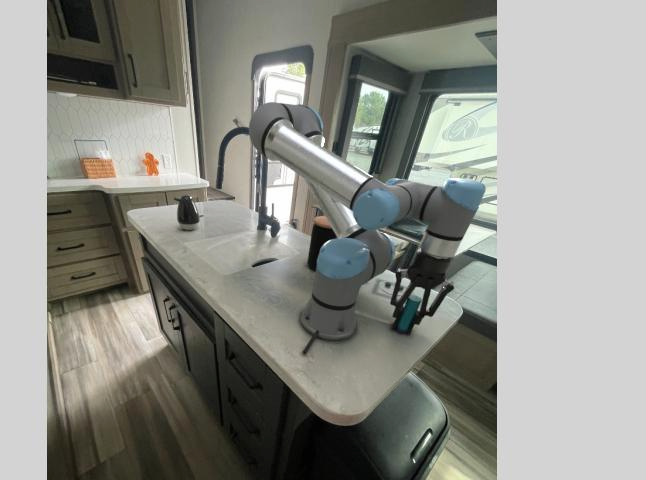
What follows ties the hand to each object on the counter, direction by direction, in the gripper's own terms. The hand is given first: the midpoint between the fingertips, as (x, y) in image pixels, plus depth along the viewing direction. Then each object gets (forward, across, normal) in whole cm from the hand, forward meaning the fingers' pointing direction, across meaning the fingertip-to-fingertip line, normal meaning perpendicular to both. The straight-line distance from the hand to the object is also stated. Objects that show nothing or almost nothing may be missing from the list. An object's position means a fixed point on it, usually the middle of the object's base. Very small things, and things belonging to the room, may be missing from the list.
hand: (401, 329), depth 75 cm
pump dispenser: (0, +99, -24) cm, 102 cm away
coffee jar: (0, +32, -24) cm, 40 cm away
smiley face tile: (+1, +5, -21) cm, 22 cm away
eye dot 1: (-1, +7, -21) cm, 22 cm away
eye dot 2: (-1, +3, -21) cm, 21 cm away
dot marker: (0, 0, 0) cm, 0 cm away
